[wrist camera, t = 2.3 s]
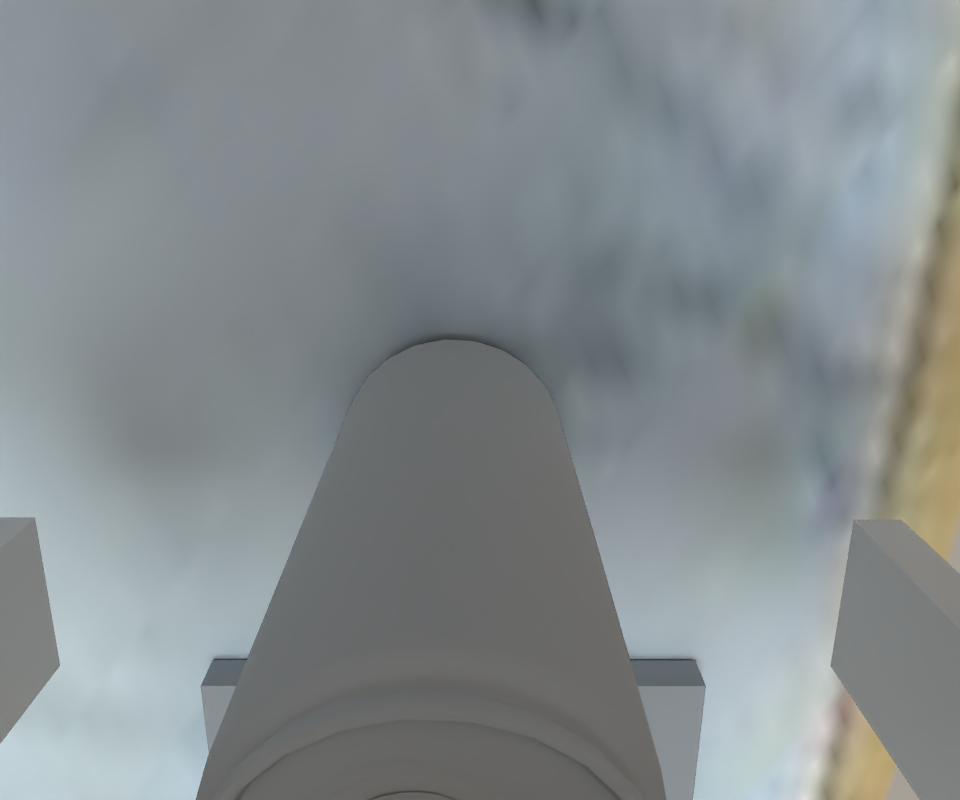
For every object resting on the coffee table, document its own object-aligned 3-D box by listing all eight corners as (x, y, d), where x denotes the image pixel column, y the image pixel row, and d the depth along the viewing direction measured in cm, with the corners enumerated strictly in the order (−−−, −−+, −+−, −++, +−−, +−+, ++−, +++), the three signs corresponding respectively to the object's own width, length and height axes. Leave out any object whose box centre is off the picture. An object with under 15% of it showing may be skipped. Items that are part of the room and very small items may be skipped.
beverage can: (521, 301, 18) (605, 625, 7) (587, 493, 20) (746, 1023, 8) (314, 373, 19) (68, 787, 7) (393, 555, 20) (292, 1135, 9)
